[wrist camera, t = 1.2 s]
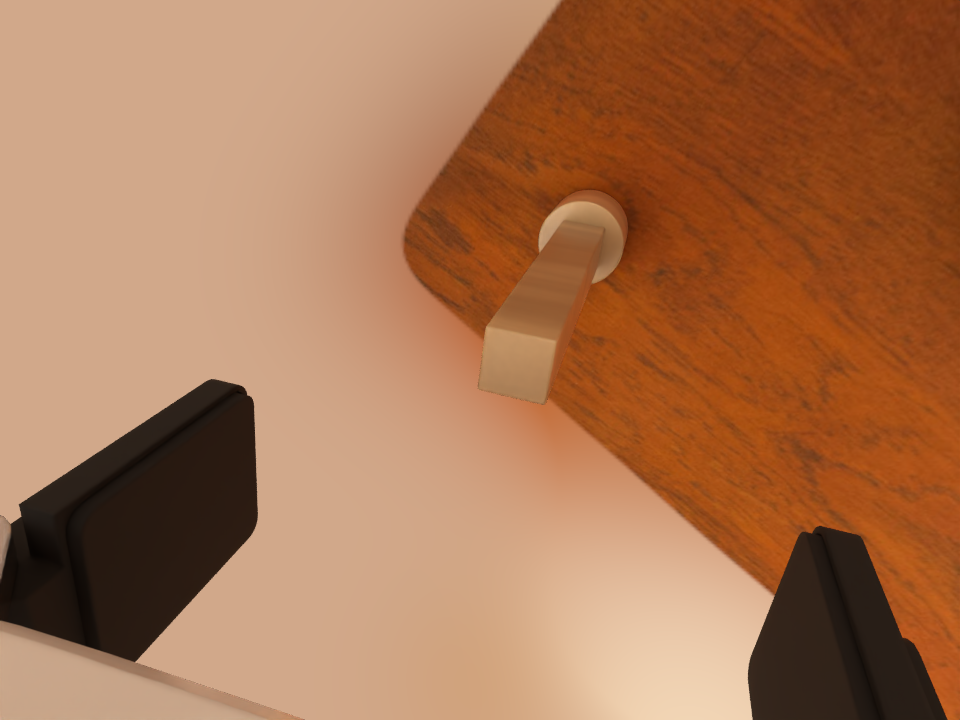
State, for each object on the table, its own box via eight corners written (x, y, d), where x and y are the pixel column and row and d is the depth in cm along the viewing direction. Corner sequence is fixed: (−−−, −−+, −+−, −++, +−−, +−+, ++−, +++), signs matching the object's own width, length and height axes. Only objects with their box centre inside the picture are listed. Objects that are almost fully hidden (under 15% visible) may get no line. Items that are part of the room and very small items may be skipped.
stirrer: (556, 183, 30) (453, 284, 16) (635, 196, 30) (601, 314, 15) (543, 259, 32) (439, 412, 18) (618, 274, 31) (574, 445, 17)
